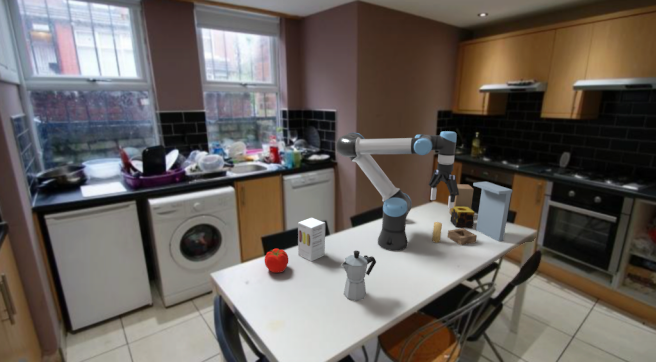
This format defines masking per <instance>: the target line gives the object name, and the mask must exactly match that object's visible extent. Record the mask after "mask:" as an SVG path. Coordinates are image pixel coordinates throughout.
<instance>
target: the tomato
mask: <svg viewBox="0 0 656 362" xmlns="http://www.w3.org/2000/svg"><path fill="white" fill-rule="evenodd" d="M264 264H265V267H266V268H267V270H268V271H270V272H271V273H275V274H277V273H283V272H284V271H285V270H286V268H287V267H288V264H289V255H288V254H287V252H286V251H285V250H284V249H279V248H274V249H270V251H267V252H266V255H265V256H264Z"/></svg>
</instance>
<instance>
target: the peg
mask: <svg viewBox="0 0 656 362" xmlns="http://www.w3.org/2000/svg"><path fill="white" fill-rule="evenodd" d="M442 228H443V223H442V222H439V221H434V222H433V228H432V229H433V230H432V237H431V238H432V239H431V241H432V242H433V243H436V244H438V243H441V239H442V237H441V236H442Z"/></svg>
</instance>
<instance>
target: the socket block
mask: <svg viewBox="0 0 656 362" xmlns="http://www.w3.org/2000/svg"><path fill="white" fill-rule="evenodd" d="M477 237H478V236H477V234H475V233H473V232H471V231H470V230H468V229H466V228H455V229H449V230H448V231H447V238H448V239H450V240H451V241H453V242H454V243H457V244H458V245H459V246H463V245H469V244H470V245H471V244H476V243H477Z"/></svg>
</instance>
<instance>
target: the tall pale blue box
mask: <svg viewBox="0 0 656 362" xmlns="http://www.w3.org/2000/svg"><path fill="white" fill-rule="evenodd" d="M473 187H477V188H479V189H481V192H480V193H481V194H480V199H479V207H478V212H477V213H478V214H477V220H476V226H475V230H476V231H477V232H479V233H481V234H483V235H485V236H487V237H489V238H491V239H493V240H495V241H497V242H498V243H499V242H504V239H505V233H506V232H505V231H506V226H507V225H506V224H507V219H508V213H509V208H510V202H511V196H512V193H513V189H511V188H508V187H504V186H501V185H499V184H495V183H493V182H489V181H478V182H473Z"/></svg>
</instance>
